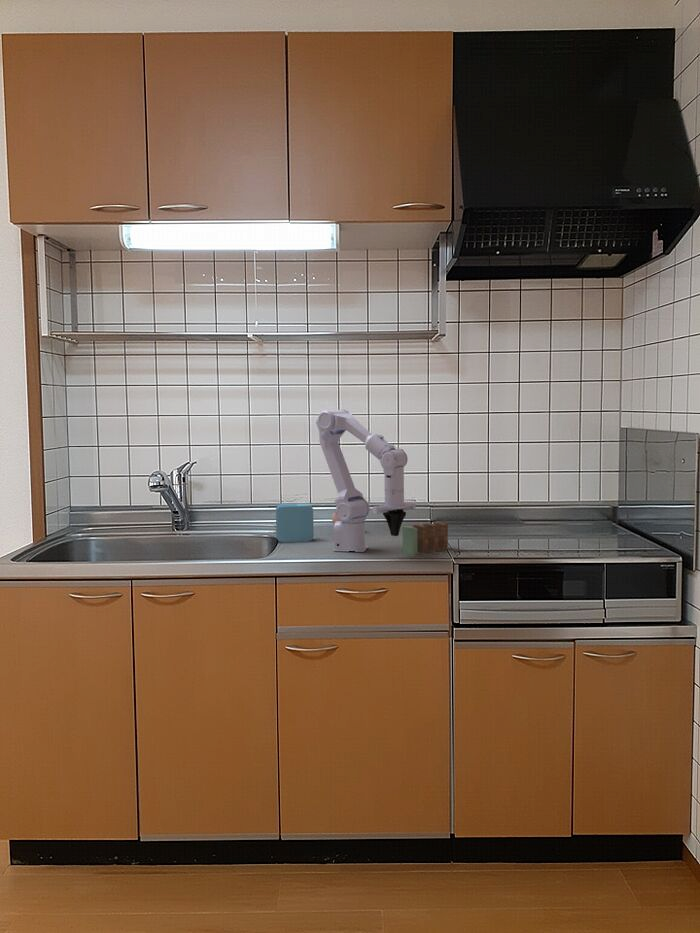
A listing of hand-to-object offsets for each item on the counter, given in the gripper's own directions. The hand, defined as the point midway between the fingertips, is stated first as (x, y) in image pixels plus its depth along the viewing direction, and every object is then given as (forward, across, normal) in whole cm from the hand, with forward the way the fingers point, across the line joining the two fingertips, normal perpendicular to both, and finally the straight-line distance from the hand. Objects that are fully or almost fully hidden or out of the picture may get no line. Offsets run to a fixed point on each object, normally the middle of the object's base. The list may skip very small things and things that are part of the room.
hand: (394, 535), depth 236 cm
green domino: (+6, +6, 0) cm, 8 cm away
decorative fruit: (+6, +9, +40) cm, 42 cm away
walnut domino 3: (+6, +18, 0) cm, 19 cm away
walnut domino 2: (+6, +14, 0) cm, 15 cm away
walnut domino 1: (+6, +10, 0) cm, 12 cm away
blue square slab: (+6, -12, +39) cm, 41 cm away
